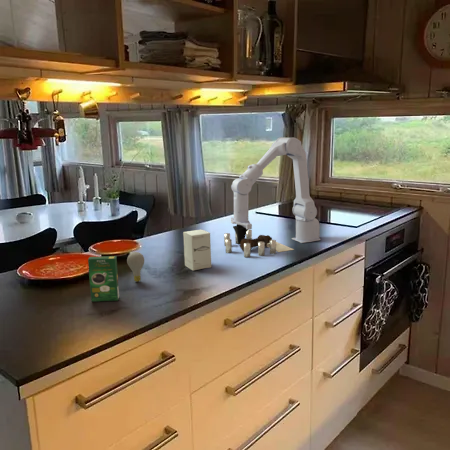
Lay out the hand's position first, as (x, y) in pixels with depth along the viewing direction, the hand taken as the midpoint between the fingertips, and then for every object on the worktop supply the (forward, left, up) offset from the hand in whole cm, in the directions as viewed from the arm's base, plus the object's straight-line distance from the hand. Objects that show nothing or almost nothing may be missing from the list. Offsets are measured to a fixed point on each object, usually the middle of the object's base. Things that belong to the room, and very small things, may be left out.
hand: (241, 243), depth 180 cm
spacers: (-1, 0, -3) cm, 3 cm away
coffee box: (+58, +27, -3) cm, 64 cm away
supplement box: (+23, +11, -3) cm, 25 cm away
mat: (-15, 0, -3) cm, 15 cm away
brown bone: (-7, +1, -3) cm, 8 cm away
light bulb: (+46, +16, -3) cm, 48 cm away
